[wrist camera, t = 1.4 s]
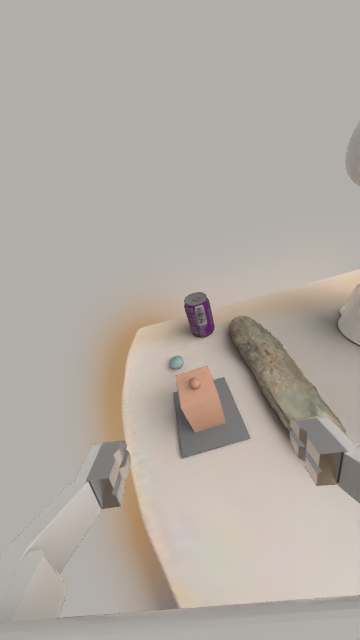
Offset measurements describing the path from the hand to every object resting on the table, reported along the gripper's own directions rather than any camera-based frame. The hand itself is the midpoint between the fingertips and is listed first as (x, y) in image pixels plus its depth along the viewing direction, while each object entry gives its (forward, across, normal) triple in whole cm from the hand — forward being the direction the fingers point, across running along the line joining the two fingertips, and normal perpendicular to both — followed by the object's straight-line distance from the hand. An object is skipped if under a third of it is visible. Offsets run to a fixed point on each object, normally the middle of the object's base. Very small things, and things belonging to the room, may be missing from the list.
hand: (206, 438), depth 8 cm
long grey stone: (+27, -16, +17) cm, 35 cm away
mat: (+21, -1, +20) cm, 29 cm away
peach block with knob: (+21, -1, +20) cm, 28 cm away
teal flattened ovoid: (+34, +5, +16) cm, 38 cm away
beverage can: (+44, -4, +12) cm, 46 cm away
